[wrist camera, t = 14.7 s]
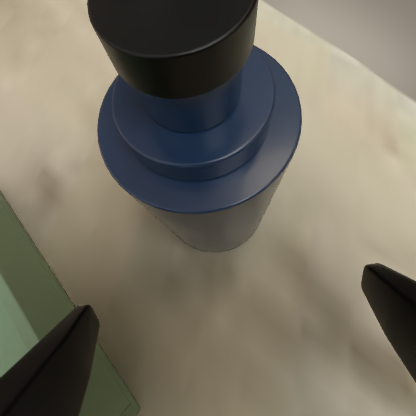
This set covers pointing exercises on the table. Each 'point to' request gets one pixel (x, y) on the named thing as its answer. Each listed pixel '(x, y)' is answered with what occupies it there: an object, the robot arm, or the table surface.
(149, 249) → the table surface
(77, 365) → the robot arm
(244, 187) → the bottle
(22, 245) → the bin
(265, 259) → the table surface
